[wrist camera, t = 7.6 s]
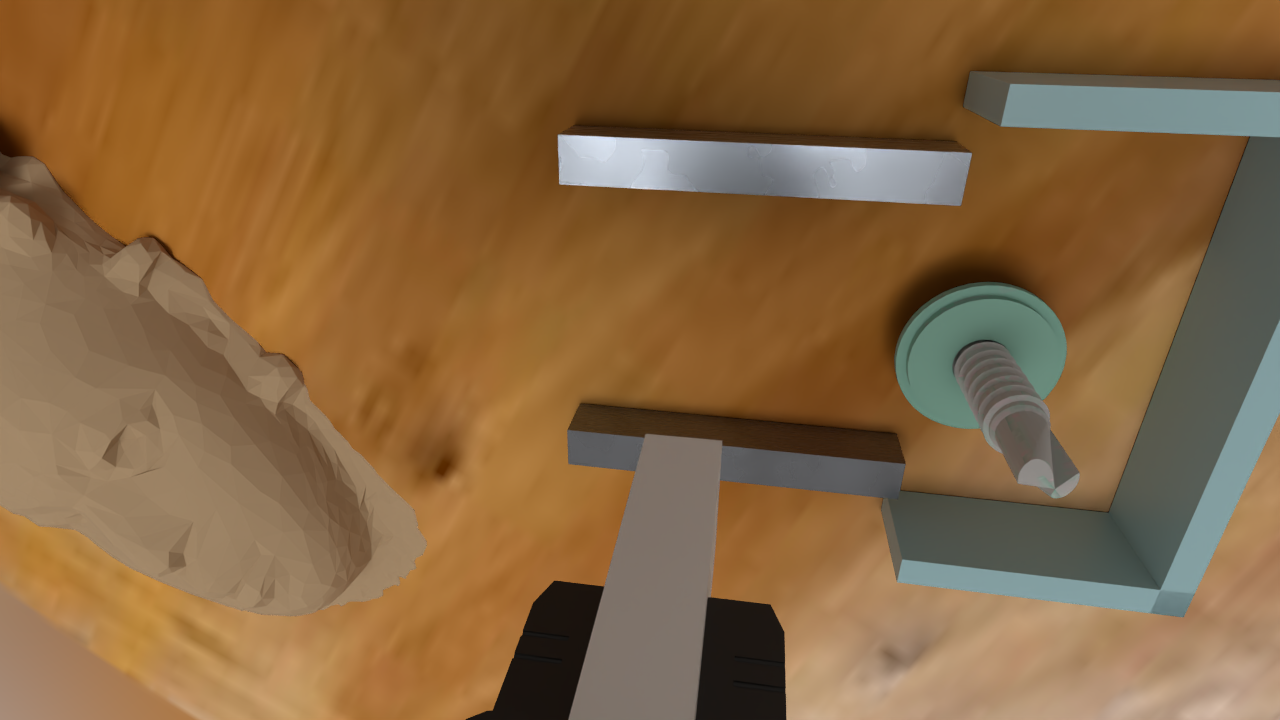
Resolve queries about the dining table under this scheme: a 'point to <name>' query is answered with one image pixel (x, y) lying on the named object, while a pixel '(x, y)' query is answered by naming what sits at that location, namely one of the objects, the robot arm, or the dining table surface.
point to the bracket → (1185, 393)
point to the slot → (772, 171)
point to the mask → (173, 424)
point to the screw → (991, 374)
